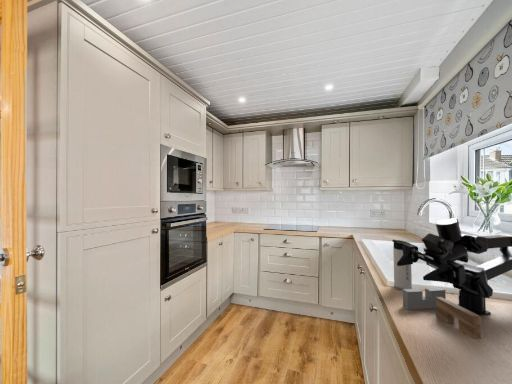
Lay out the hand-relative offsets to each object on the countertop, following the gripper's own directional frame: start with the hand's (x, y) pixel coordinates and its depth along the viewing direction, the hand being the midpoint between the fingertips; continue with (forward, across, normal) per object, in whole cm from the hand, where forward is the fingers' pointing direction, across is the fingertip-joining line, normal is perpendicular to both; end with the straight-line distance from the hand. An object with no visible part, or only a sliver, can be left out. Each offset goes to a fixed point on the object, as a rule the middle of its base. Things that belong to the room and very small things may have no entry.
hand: (409, 271), depth 73 cm
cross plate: (-5, +9, +16) cm, 19 cm away
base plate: (-7, -2, +19) cm, 20 cm away
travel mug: (-12, -17, +24) cm, 32 cm away
